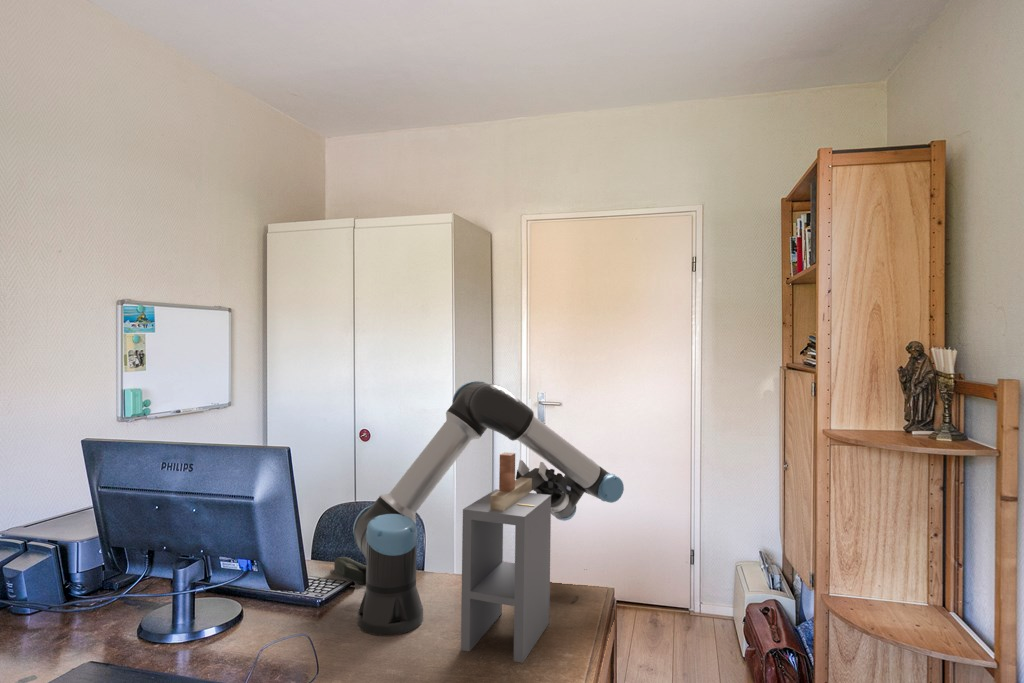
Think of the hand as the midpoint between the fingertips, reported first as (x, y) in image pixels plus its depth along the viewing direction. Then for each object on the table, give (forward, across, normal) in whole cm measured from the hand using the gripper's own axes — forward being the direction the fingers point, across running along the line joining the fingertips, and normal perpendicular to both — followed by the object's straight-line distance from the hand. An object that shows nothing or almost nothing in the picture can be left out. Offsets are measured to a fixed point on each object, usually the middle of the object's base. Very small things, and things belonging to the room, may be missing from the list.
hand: (530, 466), depth 147 cm
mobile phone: (-17, +52, -31) cm, 63 cm away
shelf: (-5, 0, -38) cm, 38 cm away
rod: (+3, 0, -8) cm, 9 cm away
